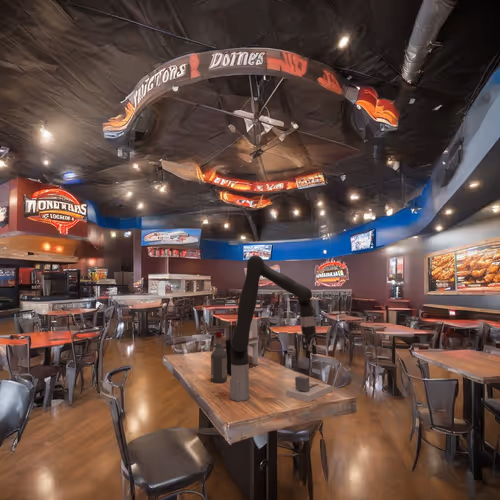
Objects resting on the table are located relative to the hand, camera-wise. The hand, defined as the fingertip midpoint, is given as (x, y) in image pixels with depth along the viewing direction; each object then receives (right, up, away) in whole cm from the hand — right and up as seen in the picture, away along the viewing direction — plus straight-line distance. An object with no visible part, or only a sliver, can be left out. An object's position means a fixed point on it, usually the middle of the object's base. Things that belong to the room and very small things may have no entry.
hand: (311, 356), depth 163 cm
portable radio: (-45, -28, +45) cm, 70 cm away
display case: (-34, -30, +63) cm, 78 cm away
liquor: (-52, -26, +28) cm, 65 cm away
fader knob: (-5, -16, -3) cm, 18 cm away
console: (-1, -20, +1) cm, 20 cm away
